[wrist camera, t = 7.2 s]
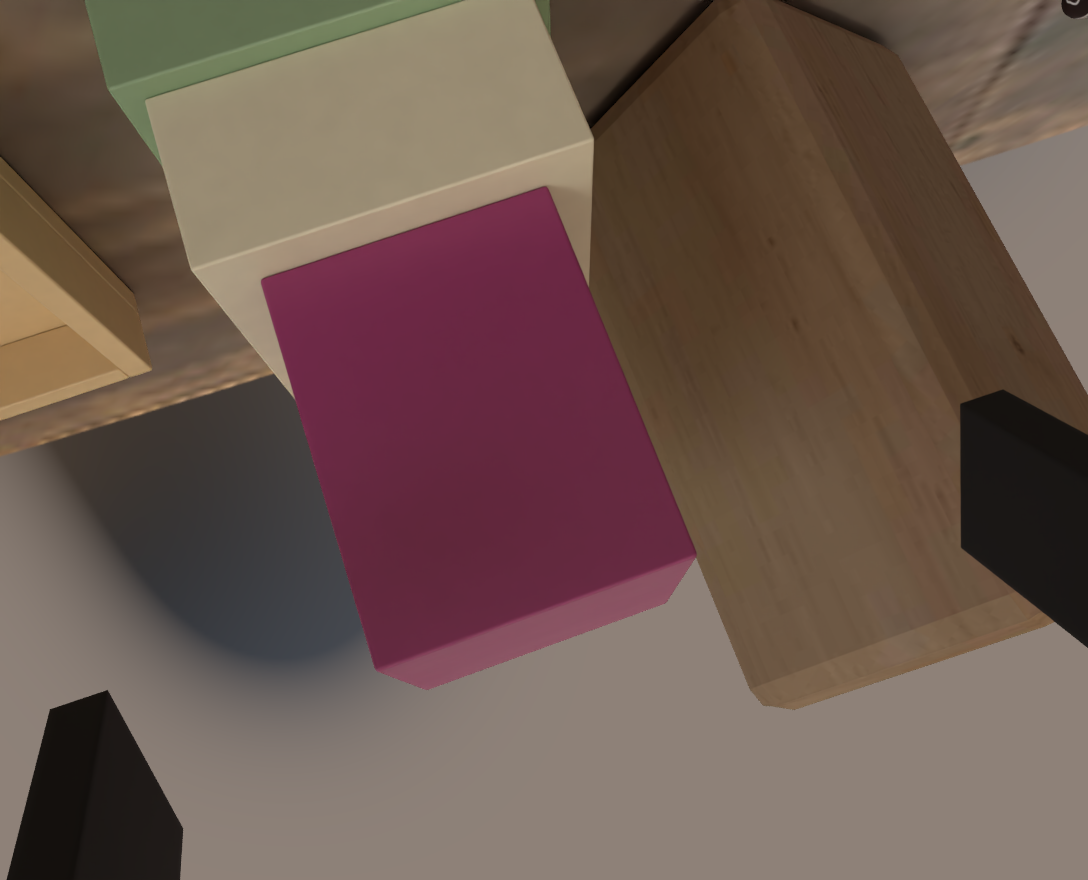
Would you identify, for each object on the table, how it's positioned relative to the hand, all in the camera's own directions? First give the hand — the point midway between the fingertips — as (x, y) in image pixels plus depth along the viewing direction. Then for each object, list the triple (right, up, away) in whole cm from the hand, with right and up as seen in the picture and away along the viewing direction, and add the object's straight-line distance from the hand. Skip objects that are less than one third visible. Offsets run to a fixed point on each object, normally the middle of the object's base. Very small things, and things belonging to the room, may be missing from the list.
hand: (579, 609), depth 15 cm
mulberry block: (-3, +6, +8) cm, 10 cm away
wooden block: (+5, +15, +21) cm, 26 cm away
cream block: (-5, +9, +9) cm, 14 cm away
